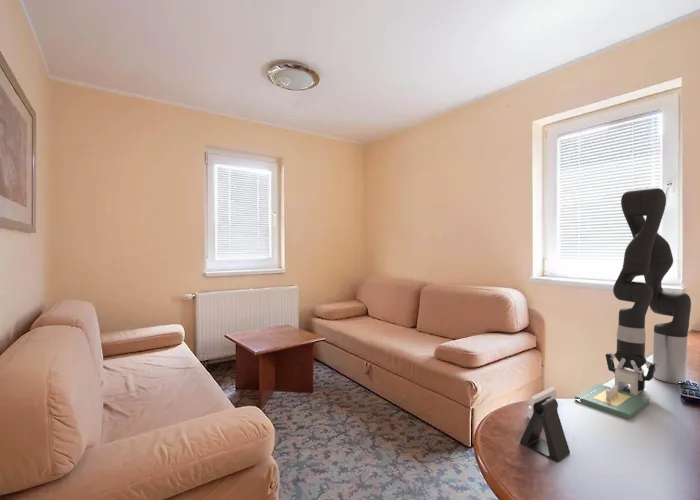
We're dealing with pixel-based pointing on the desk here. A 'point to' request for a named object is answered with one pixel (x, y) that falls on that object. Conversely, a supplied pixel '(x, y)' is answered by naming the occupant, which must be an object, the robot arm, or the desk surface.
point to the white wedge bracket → (546, 393)
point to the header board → (613, 400)
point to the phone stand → (546, 431)
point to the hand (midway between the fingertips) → (629, 387)
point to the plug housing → (627, 379)
